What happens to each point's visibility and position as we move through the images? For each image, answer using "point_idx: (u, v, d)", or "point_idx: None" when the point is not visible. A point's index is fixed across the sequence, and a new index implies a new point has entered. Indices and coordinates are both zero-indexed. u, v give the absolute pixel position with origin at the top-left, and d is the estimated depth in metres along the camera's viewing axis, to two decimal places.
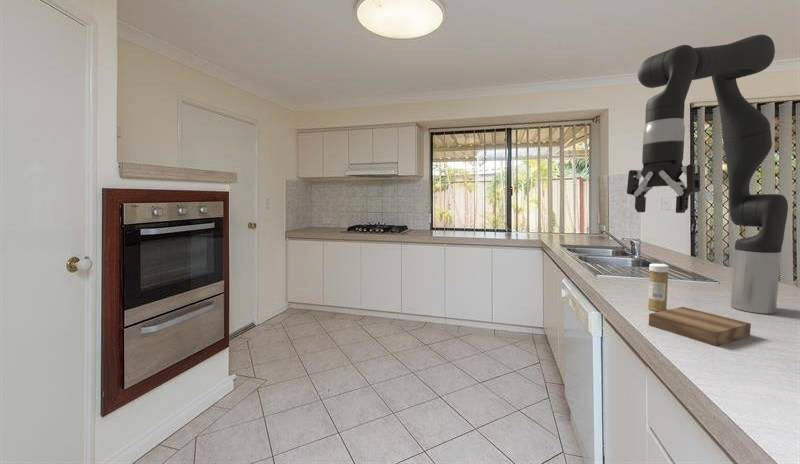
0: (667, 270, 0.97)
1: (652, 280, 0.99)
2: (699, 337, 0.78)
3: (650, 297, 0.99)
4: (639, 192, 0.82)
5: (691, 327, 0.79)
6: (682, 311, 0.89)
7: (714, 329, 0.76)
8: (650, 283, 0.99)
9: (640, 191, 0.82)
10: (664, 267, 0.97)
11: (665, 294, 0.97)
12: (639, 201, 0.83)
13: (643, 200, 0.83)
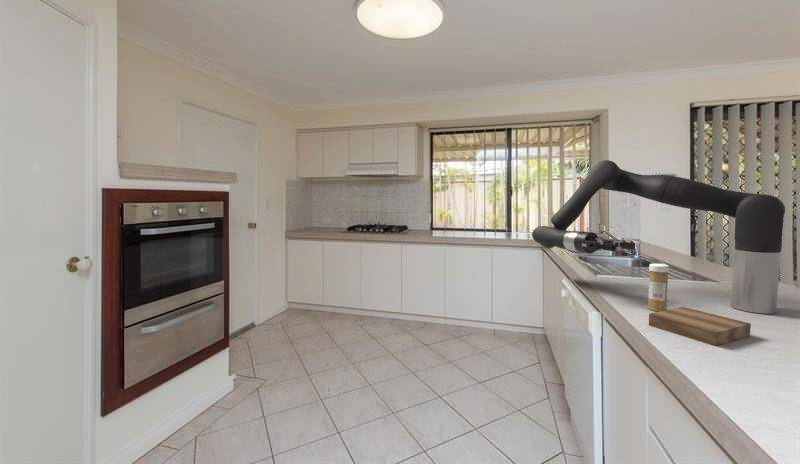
0: (667, 270, 0.97)
1: (652, 280, 0.99)
2: (699, 337, 0.78)
3: (650, 297, 0.99)
4: None
5: (691, 327, 0.79)
6: (682, 311, 0.89)
7: (714, 329, 0.76)
8: (650, 283, 0.99)
9: None
10: (664, 267, 0.97)
11: (665, 294, 0.97)
12: (625, 248, 1.12)
13: (624, 244, 1.12)
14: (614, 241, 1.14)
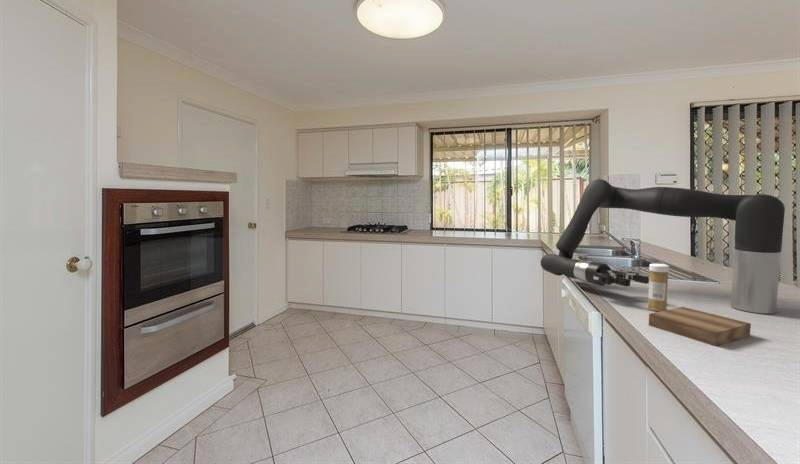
0: (667, 270, 0.97)
1: (652, 280, 0.99)
2: (699, 337, 0.78)
3: (650, 297, 0.99)
4: None
5: (691, 327, 0.79)
6: (682, 311, 0.89)
7: (714, 329, 0.76)
8: (650, 283, 0.99)
9: (630, 280, 1.10)
10: (664, 267, 0.97)
11: (665, 294, 0.97)
12: None
13: (638, 277, 1.08)
14: (627, 274, 1.11)
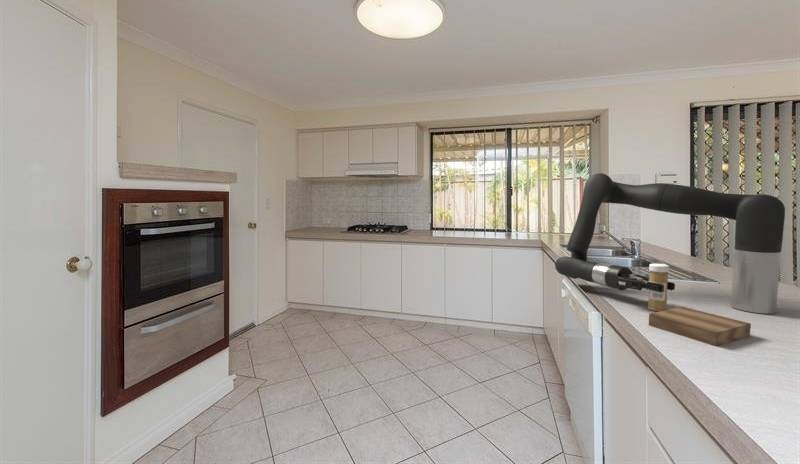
0: (667, 270, 0.97)
1: (652, 280, 0.99)
2: (699, 337, 0.78)
3: (650, 297, 0.99)
4: None
5: (691, 327, 0.79)
6: (682, 311, 0.89)
7: (714, 329, 0.76)
8: None
9: None
10: (664, 267, 0.97)
11: (665, 294, 0.97)
12: None
13: None
14: None
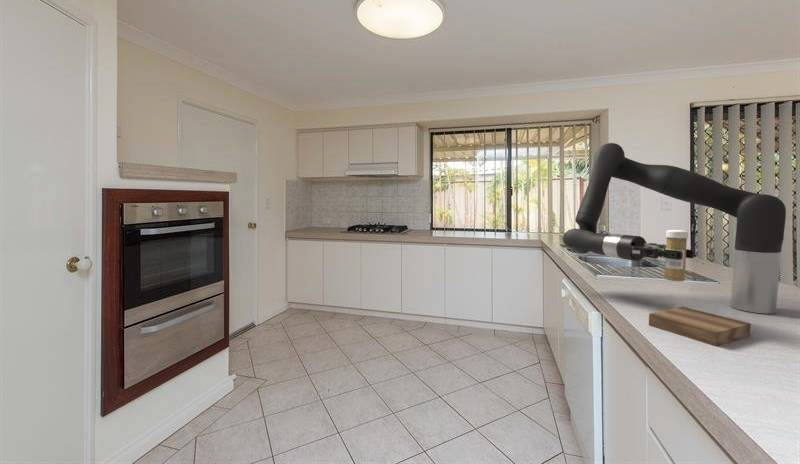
0: (686, 236, 0.89)
1: (669, 247, 0.91)
2: (699, 337, 0.78)
3: (667, 266, 0.92)
4: None
5: (691, 327, 0.79)
6: (682, 311, 0.89)
7: (714, 329, 0.76)
8: None
9: None
10: (683, 232, 0.89)
11: (683, 262, 0.90)
12: None
13: None
14: None
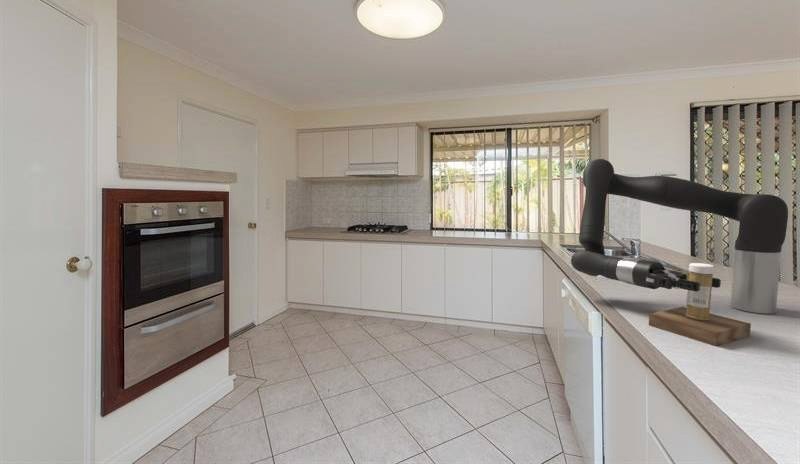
0: (712, 271, 0.80)
1: None
2: (699, 337, 0.78)
3: (689, 303, 0.83)
4: None
5: (691, 327, 0.79)
6: (682, 311, 0.89)
7: (714, 329, 0.76)
8: None
9: None
10: (709, 268, 0.80)
11: (709, 300, 0.81)
12: None
13: None
14: None
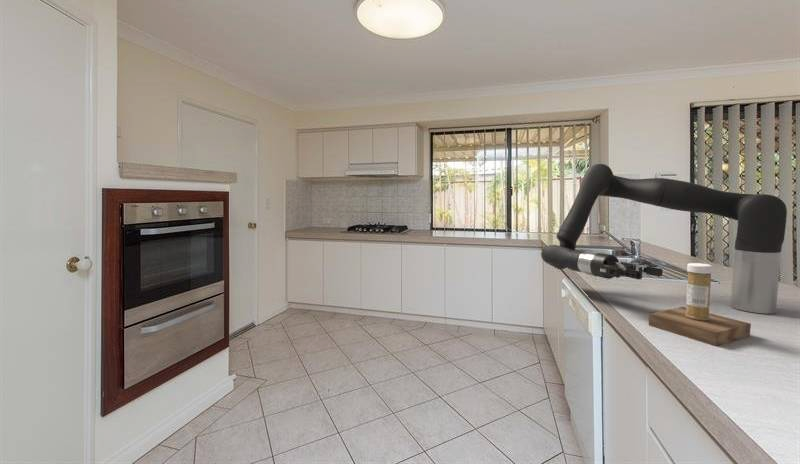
0: (710, 271, 0.81)
1: (692, 283, 0.83)
2: (699, 337, 0.78)
3: (689, 303, 0.83)
4: (642, 273, 0.99)
5: (691, 327, 0.79)
6: (682, 311, 0.89)
7: (714, 329, 0.76)
8: (689, 286, 0.83)
9: (641, 273, 0.99)
10: (707, 267, 0.81)
11: (708, 300, 0.81)
12: (650, 274, 0.97)
13: (650, 270, 0.97)
14: (637, 266, 0.99)
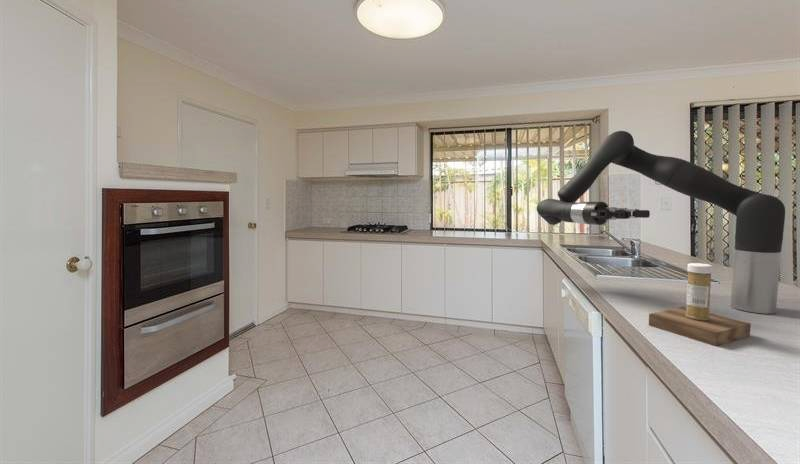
0: (710, 271, 0.81)
1: (692, 282, 0.83)
2: (699, 337, 0.78)
3: (689, 303, 0.83)
4: (631, 217, 1.04)
5: (691, 327, 0.79)
6: (682, 311, 0.89)
7: (714, 329, 0.76)
8: (689, 286, 0.83)
9: (630, 217, 1.05)
10: (707, 267, 0.81)
11: (708, 300, 0.81)
12: None
13: (638, 213, 1.02)
14: (626, 210, 1.05)
